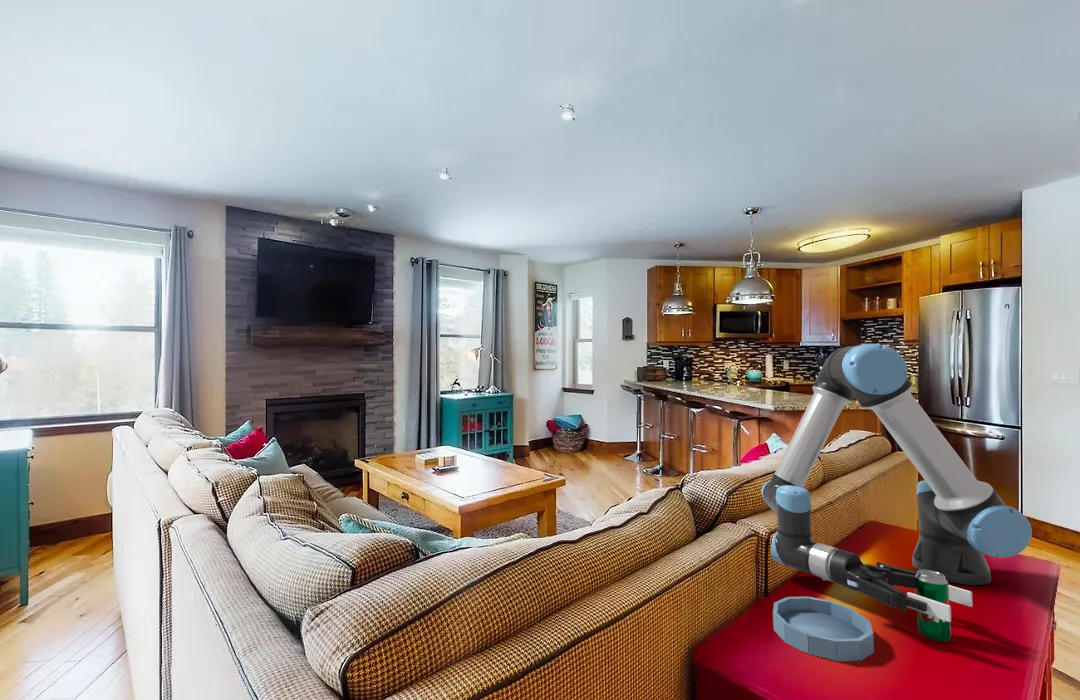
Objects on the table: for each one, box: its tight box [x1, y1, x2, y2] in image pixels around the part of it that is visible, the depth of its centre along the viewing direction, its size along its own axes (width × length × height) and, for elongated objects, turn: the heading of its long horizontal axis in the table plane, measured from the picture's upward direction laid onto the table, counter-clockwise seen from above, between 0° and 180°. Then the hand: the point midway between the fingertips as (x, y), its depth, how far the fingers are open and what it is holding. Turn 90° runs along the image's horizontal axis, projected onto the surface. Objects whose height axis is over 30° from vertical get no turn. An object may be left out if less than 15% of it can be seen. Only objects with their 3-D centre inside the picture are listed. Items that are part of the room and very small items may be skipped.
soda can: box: [915, 570, 952, 643], centre depth 93 cm, size 5×5×12 cm
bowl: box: [772, 596, 875, 662], centre depth 94 cm, size 17×17×4 cm
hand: (961, 606), depth 89 cm, fingers open, 9 cm apart
